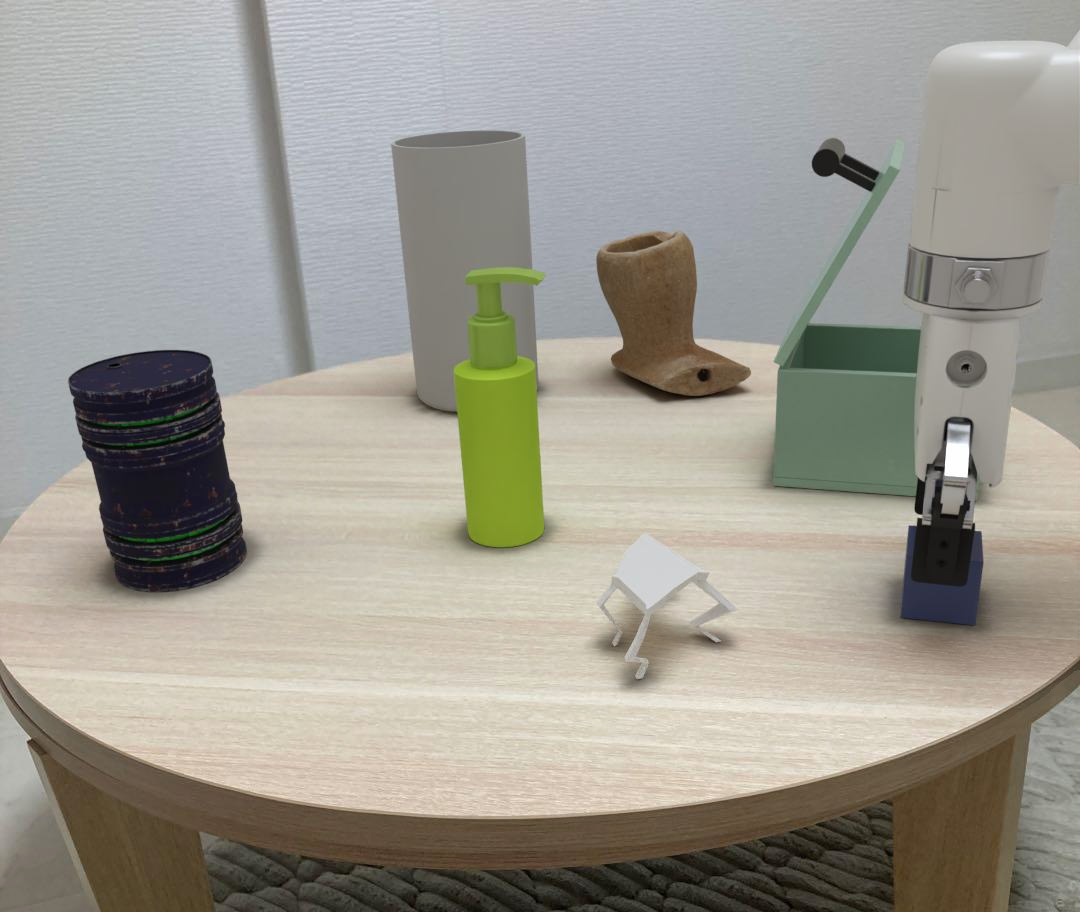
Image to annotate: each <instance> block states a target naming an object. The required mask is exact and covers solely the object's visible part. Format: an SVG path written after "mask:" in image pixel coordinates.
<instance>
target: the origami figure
mask: <svg viewBox="0 0 1080 912" xmlns="http://www.w3.org/2000/svg"><path fill="white" fill-rule="evenodd" d="M709 575H710V572H709V571H707V570H705V569H703V568H700V567H698V566H696V565H695V564H693V562H691V561H689V560H687V559H685V558H684V557H683V556H681V554H678V553H677V552H675V551H674V550H672V549H671V548H670V547H667V546H666V545H665V544H663V543H661V542H660V541H659V540H657V539H656V538H654V537H653V536H651V535H650V531H647V532H645V533H643V534H642V535H640V537H639V538H637V539H636V540H635V541H634V542H633V543H632V544H631V545H630V546H628V548H627V549H626V550H625V551H624V552H623V555H622V557H621V559H620V561H619V564H618V566H617V570H616V572H615V573H614V574H613V575H611V581H610V585H609V586H608V588H607V589H606V590H605V591H604V592H603V594H602V595H601V596H600V597H599V598H598V600H597V601H596V605H597V606H598V608H599V609H600V610H601V611H602V612H603V614H604V615H605V616H606V618H607V619H608V620H609V621H610V622H611V624H612V626H613V627H614V628H615V629H616V630H617V632H616V634H615V636H614V638H613V640H612V642H611V644H612V645H613V646H614V647H615V646H616V647H617V645H618V644H619V641H620V640H621V637H622V635H623V630H622V629H621V628H620V626H619V625H618V624H617V622H616V620H615V619H614V618H613V616H612V615H611V613H610V611H609V610H608V609H607V607H606V605H605V604H606V603H607V601H608V600H609V599H610V598H611V596H612V595H613V594H614V592H615V591H616V590H617V589H618V590H619V591H620V592H621V593H622V594H623V596H625V597H626V598H627V599H628V600H629V601H630V602H632V604H633V605H634V606H635V607H636V608H637V609H638V610H639V611H641V613H642V614H644V615H643V618H642V620H641V622H640V624H639V627H638V630H637V632H636V634H635V637H634V639H633V640H632V643H631V645H630V646H629V648H628V650H627V652H626V654H625V655H624V660H625V662H629V663H639V664H640V666H639V668H638V669H637V672H636V673H635V675H634V677H635V678H636V680H641V679H644V676H645V674H646V672H647V669H648V666H649V664H650V661H649V660H648V658H646V657H638V656H637V655H638V653H639V650H640V648H641V645H642V644H643V641H644V639H645V636H646V633H647V629H648V627H649V624H650V620H651V617H652V615H653V614H655V613H656V612H657V611H658V610H659V609H660V608H661V607H663V606H664V605H665V604H666V603H667V602H668V601H669V600H671V598H673V597H674V596H675V595H676V594H678V593H679V592H680V591H682V590H683V589H684V588H686V587H687V586H689V585H690V584H694V585H695V586H697V587H698V588H699V589H700V590H702V591H703V592H704V593H705V594H707V595H708V596H710V597H711V598H712V599H713V600H714V601H716V602H717V603H718V604H716V605H714V606H712V607H711V608H710V609H708V610H706V611H705V612H703V613H702V614H700V615H698V616H697V617H695V618H694V619H692V620H690V621H689V622H688V624H689V625H690V626H692V627H694V628H695V629H696V630H698V631H699V632H700V633H702V634H703V635H705V636H706V637H708V638H710V640H712V641H714V642H715V643H720V642H722V640H721V639H719V638H718V637H716V636H715V635H714V634H712V633H710V632H709V631H707V630H706V629H704V628H703V627H702V625H703V624H706V623H709V622H711V621H714V620H716V619H718V618H721V617H723V616H725V615H728V614H731V613H733V612H736V611H738V610H739V608H737V607H736V606H735V605H734V604H733V603H732V602H730V600H728V599H727V598H726V597H725V596H724V595H723V594H722V593H720V591H719V590H717V589H716V588H715V587H714V586H713V585H712V584H711V583H709V581H708V580H707V579H708V577H709Z"/></svg>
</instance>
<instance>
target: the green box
mask: <svg viewBox="0 0 1080 912" xmlns="http://www.w3.org/2000/svg"><path fill="white" fill-rule="evenodd" d="M920 334H921V326H915V325H914V326H912V325H909V326H907V325H881V324H880V325H878V324H852V323H851V324H849V323H847V324H846V323H819V322H817V323H815V322H809V323H808V325H807V327H806V328H805V330H804V332H803V333H802V335H801V337H800V338H799V340H798V342H797V343H796V345H795V347H794V348H793V350H792V352H791V353H790V355H789V357H788V358H787V360H786V362H785V363H784V365H783V367H782V366H780V365H779V367H778V369H777V378H776V402H775V403H776V404H775V426H774V430H775V431H774V448H773V449H774V451H773V474H772V475H773V477H772V486H773V487H785V488H798V489H811V490H825V491H838V492H852V493H864V494H866V493H867V494H876V495H877V494H879V495H890V496H891V495H892V496H894V495H895V496H906V497H916V489H917V481H918V477H917V475H916V474H915V449H914V410H915V389H916V376H917V365H918V353H919V344H920ZM979 488H980V480H979V477H978V474H977V483H976V492H975V502H977V501H978V498H979V497H978V496H979Z"/></svg>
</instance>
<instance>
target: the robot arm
mask: <svg viewBox="0 0 1080 912" xmlns="http://www.w3.org/2000/svg"><path fill="white" fill-rule="evenodd" d="M923 91H924V92H923V101H922V110H921V118H920V129H919V140H918V149H917V158H916V165H915V166H916V167H915V178H914V186H913V195H912V205H911V215H910V225H909V226H910V227H909V235H908V244H907V253H906V263H905V271H904V272H905V273H904V283H903V291H902V303H903V304H904V306H907V307H908V308H909V309H910V310H914V311H916V312H918V313H921V314H922V317H921V326H920V327H921V334H920V344H919V353H918V365H917V376H916V389H915V410H914V449H915V474H916V475H917V477H918V481H917V489H916V496H915V499H914V508H913V509H914V513H915V514H917V515H919V516H921V517H916V525H915V526H916V534H915V542H914V550H913V559H912V567H911V579H912V580H913V581H915V582H921V583H930V584H939V585H948V586H958V587H962V586H964V585H966V583H967V580H968V573H969V566H970V559H971V553H972V546H973V539H974V532H975V531H976V522H974V512H975V502H976V501H975V492H976V483H977V474H978V477H979V480H980V482H979V484H988V486H989V488H995V487H997V486H999V485H1000V484H1001V483H1002V481H1003V475H1004V466H1005V457H1006V449H1007V441H1008V433H1009V426H1010V419H1011V418H1010V417H1011V411H1012V405H1013V404H1012V403H1013V396H1014V388H1015V380H1016V372H1017V365H1018V364H1017V363H1018V355H1019V354H1018V353H1019V344H1020V343H1019V342H1020V329H1021V328H1020V327H1021V318H1024V317H1028V316H1031V315H1033V314H1036V313H1037V312H1038V311H1040V310H1041V308H1042V303H1043V297H1044V291H1045V285H1046V279H1047V272H1048V265H1049V259H1050V254H1051V246H1052V239H1053V235H1054V228H1055V223H1056V222H1055V221H1056V217H1057V216H1056V215H1057V210H1058V203H1059V196H1060V190H1061V186H1062V185H1071V186H1072V185H1073V186H1080V29H1079V30H1078V31H1077V33H1076V34H1075V35H1074V37H1073V38H1072V39H1071V40H1070V42H1069V43H1068V44H1067V46H1065V45H1063V44H1060V43H1057V42H1052V41H1045V40H1026V39H1025V40H1023V39H1022V40H1012V39H1011V40H984V41H983V40H982V41H971V42H963V43H957V44H953V45H950V46H948V47H946V48H943V49H942V50H941V51H939V52H938V53H937V54H936V55H935V56H934V58H933V59H932V61H931V63H930V64H929V67H928V70H927V72H926V79H925V84H924V90H923Z"/></svg>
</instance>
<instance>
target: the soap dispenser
mask: <svg viewBox="0 0 1080 912" xmlns="http://www.w3.org/2000/svg"><path fill="white" fill-rule="evenodd" d="M546 275H547V273H545V272H542V271H539V270H535V269H532V270H531V269H525V268H516V267H500V268H488V269H479V270H471V271H470V272H469V273H468V275H467V276H466V277H465V279H466V285H473V284H476V290H477V302H478V313H476V314H474V316H472V317H470V318H469V319H468V320H467V327H468V340H469V352H470V359H469V360H466V361H463V362H461V363H459V364H458V365H457V366H455V368H454V381H455V392H456V403H457V412H456V413H457V423H458V425H457V426H458V436H459V447H460V448H459V449H460V458H461V469H462V478H463V479H462V480H463V490H464V501H465V512H466V513H465V514H466V524H467V534H468V537H469V538H470V539H471V541H473V542H474V543H477V544H479V545H481V546H485V547H491V548H512V547H517V546H523V545H526V544H529V543H531V542H533V541H535V540H537V539H538V538H540V537H541V536H543V534H544V532H545V517H544V516H545V515H544V513H545V512H544V498H543V497H544V496H543V495H544V494H543V480H542V462H541V444H540V443H541V442H540V428H539V427H540V425H539V409H538V407H539V406H538V389H537V390H536V372H535V363H534V362H533V361H532V360H530V359H528V358H525V357H520V356H517V347H516V331H515V319H514V317H513V316H512V315H510V314H507V312H505V311H502V300H501V286H500V283H503V282H517V283H525V284H531V285H533V286H539V284H540V283H542V281H543V280H544V279H545V277H546Z"/></svg>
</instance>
